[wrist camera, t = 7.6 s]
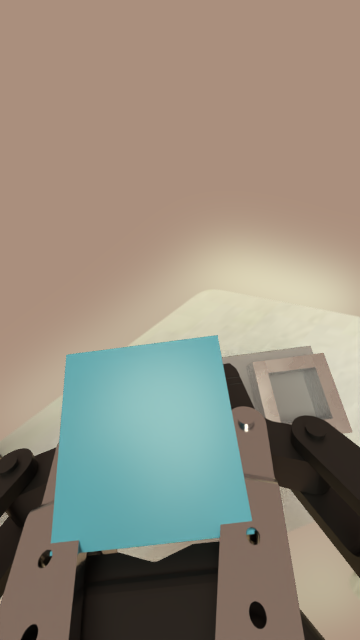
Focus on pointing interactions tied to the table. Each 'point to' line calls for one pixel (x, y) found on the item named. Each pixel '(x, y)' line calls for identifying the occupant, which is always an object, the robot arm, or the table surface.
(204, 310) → the table surface
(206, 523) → the plug
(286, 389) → the panel
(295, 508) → the table surface
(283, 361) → the port
